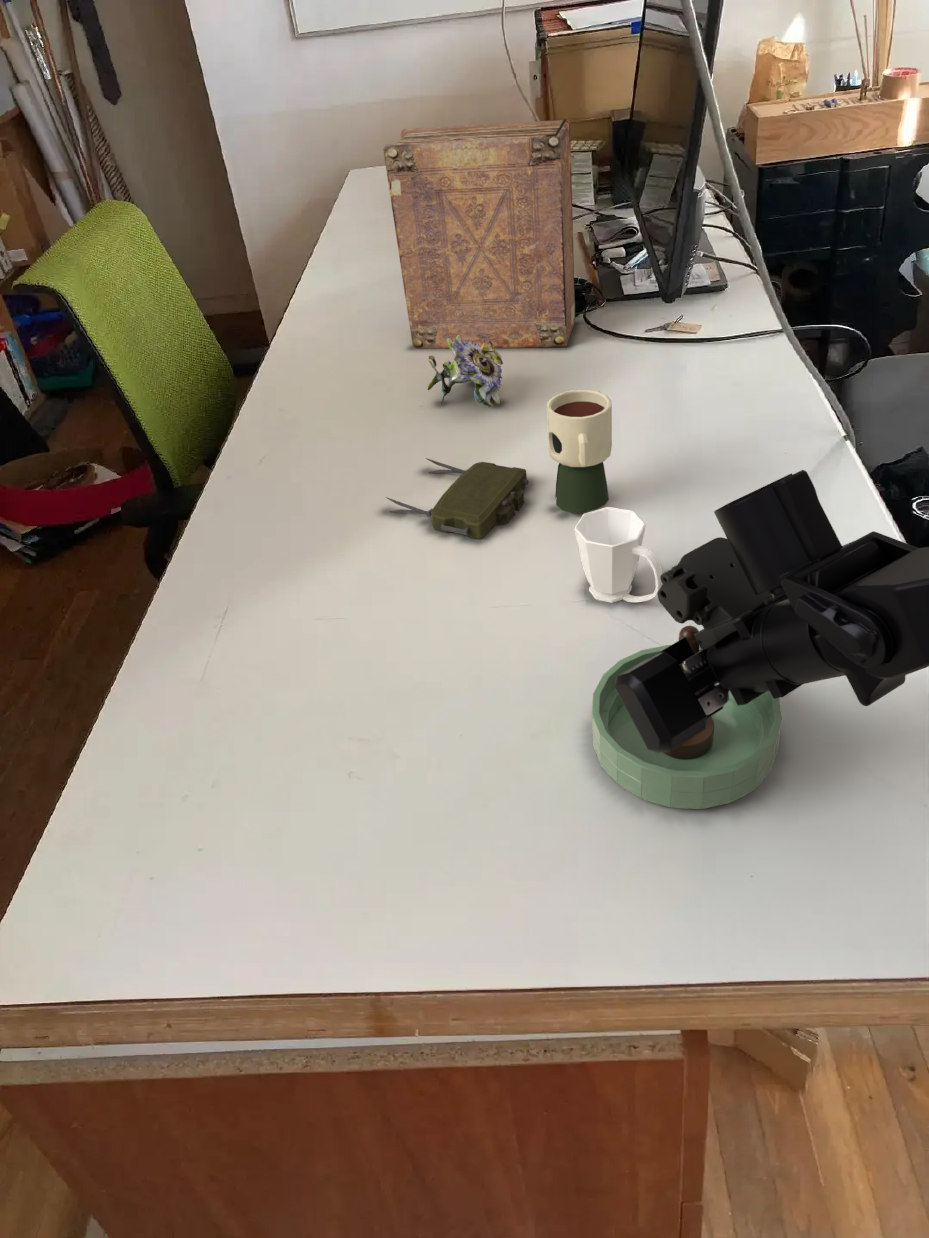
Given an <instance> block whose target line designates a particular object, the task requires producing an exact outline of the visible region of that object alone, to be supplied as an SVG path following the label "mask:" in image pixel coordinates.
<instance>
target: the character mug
mask: <svg viewBox="0 0 929 1238" xmlns="http://www.w3.org/2000/svg"><path fill="white" fill-rule="evenodd" d="M612 403H613V402H612V399H611V398H610V397H609V395H607V394H605V393H603V392H601V391H599V390H595V389H587V388H586V389H585V388H584V389H583V388H582V389H571V390H566V391H563V392H561V393H558V394H556V395H553V397H551V398H550V399H549V400H548V401H547V403H546V422H547V440H548V452H549V456H550V459H552V460H553V461H554V462H556V463H558V465H557V472H556V481H555V495H554V497H555V505H556V507H558V509H560V510H561V511H563V512H567V513H570V514H580V513H588V512H591V511H595V510H598V509H601V508H603V507H605V506H606V505H607V503H608V502H609V500H610V497H609V488H608V482H607V476H606V470H605V464H604V462H606V461H607V459H608V458H609V457H611V454H612V447H613V419H612V418H613V415H612V414H613V413H612V412H613V410H612V409H613V406H612V405H613V404H612Z"/></svg>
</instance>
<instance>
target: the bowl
mask: <svg viewBox="0 0 929 1238" xmlns="http://www.w3.org/2000/svg"><path fill="white" fill-rule="evenodd" d="M671 645H672V644H666V645H662V646H656V647H650V648H646V649H642V650H639V651H637V652H635V653H632V654H630V655H628V656H626V657H624V658H621V659H620V660H618V661H617V662H616V663H615V664H614V665H613V666H611V667H610V668H609V669H608V670H607V671H606V672H604V674H603V675H602V676H601V678H600V680H599V682H598V684H597V685H596V688H594V689H595V690H594V691H593V693H592V706H591V707H592V709H591V717H592V718H591V721H592V723H591V724H592V725H591V727H592V746H593V748H594V752H595V754H596V756H597V757H596V758H597V760H598V762H599V765H600V766H601V768H602V769H603V770H604V771H605V772H606V774H608V776H609V777H610V778H611V779H612V780H613V781H614V782H615V783H616V784H617V785H618V786H620V787H621V788H623V789H625V790H626V791H628V792H629V793H631V794H633V795H634V796H636V797H637V798H639V799H641V800H644V801H647V802H650V803H654V804H657V805H661V806H664V807H667V808H671V809H691V810H705V809H708V808H713V807H718V806H722V805H727V804H731V803H734V802H736V801H737V800H739V799H741V798H743V797H745V796H746V795H749V794H751V793H752V792H754V791H755V790H756V789H757V788H759V786H760V785H761V783H762V782H763V781H765V779H766V778H767V777H768V776H769V774H770V773H772V769H773V766H774V764H775V763H774V762H775V760H776V756H777V753H778V748H779V742H780V735H781V730H782V724H783V723H782V722H783V714H782V710H781V709H782V708H781V704H780V703H781V702H780V698H776V699H774V698H773V697H772V695H771V693H770V691H766V692H765V693H763V694H761V695H760V696H758V697H757V698H755V699H754V700H752V701H751V702H749V703H747V704H745V705H739V706H738V705H737V703H736V701H735V699H734V697H733V695H732V694H731V692H730V691H729V700H728V702H727V703H726V704H725V705H723V709H721V710H720V711H718V712H717V713H715V714H714V715H712V716H711V717H712V719H713V721H714V736H713V744H712V746H711V748H710V749H709V751H708V752H707V753H705V754H704V755H702V756H700V757H698V758H694V759H687V760H684V759H676V758H673V757H670V756H668V755H666V754H664V753H663V752H660V753H657V752H654V751H651V750H648V749H647V747H646V745H645V743H644V741H643V739H642V737H641V735H640V734H639V732H638V730H637V728H636V726H635V724H634V722H633V720H632V718H631V717H630V715H629V713H628V711H627V709H626V707H625V705H624V703H623V701H622V700H621V698H620V696H619V694H618V692H617V690H616V688H615V683H616V678H617V676H618V675H620V674H622V673H623V672H625V671H627V670H628V669H630V668H632V667H634V666H635V665H637V664H639V663H640V662H642V661H644V660H646V659H648V658H650V657H652V656H654V655H657V654H659V653H661V651H662V650H664V649H666V648H667V647H669V646H671ZM700 649H701V648H700V646H699V650H700ZM715 685H719V683H717V684H715Z"/></svg>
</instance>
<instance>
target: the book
mask: <svg viewBox="0 0 929 1238" xmlns="http://www.w3.org/2000/svg"><path fill="white" fill-rule="evenodd" d="M571 140H572V139H571V121H570V120H569V119H565V118H564V119H552V120H550V119H549V120H536V121H535V120H533V121H519V122H501V123H500V122H499V123H485V124H467V125H466V124H465V125H451V126H449V125H448V126H433V127H416V128H404V129H402V130H401V131H400V140H398V142H396V143H393V144H391V143H390V144H385V145H384V146H383V156H384V157H383V158H384V163H385V169H386V177H387V183H388V184H387V185H388V190H389V198H390V204H391V210H392V217H393V223H394V230H395V231H394V232H395V236H396V245H397V250H398V257H399V258H398V259H399V262H400V271H401V277H402V284H403V290H404V297H405V304H406V311H407V317H408V324H409V330H410V337H411V338H410V339H411V344H412V347H413V348H414V349H450V348H449V346H448V344H447V342H446V338H450V339H451V341H452V342H455V343H456V341H455V340H456V337H457V336H458V335H460V339H461V340H462V341H463V342H465V341H466V342H468V343H469V341H471V340H472V342H473V344H477V343H478V344H479V345H480V346H482V344H483V343H485V344H486V345H488V341H491V342H492V345H493V347H494V349H496V348H505V349H506V348H507V349H509V348H566V347H567V345H568V343H569V340H570V337H571V334H572V331H573V329H574V326H575V323H576V300H575V298H576V297H575V296H576V295H575V256H574V224H573V223H574V221H573V220H574V218H573V217H574V216H573V184H572V183H573V180H572V143H571Z"/></svg>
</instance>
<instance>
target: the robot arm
mask: <svg viewBox="0 0 929 1238" xmlns="http://www.w3.org/2000/svg"><path fill="white" fill-rule="evenodd" d="M713 513H714V515H715V517H716V520H717V521H718V523H719V525H720V527H721V529H722V531H723V533H724V535H725V537H726V538H725V537H715V538H713V539H711V540H709V541H707V542H706V543H704V544H702V545H700V546H698V547H696V548H694V549H692V550H690V551H688V552H687V553H685V554H684V555H683V556H682V557H681V559H680V560H679V562H678V563H677V564H676V565H674V566H672V567H671V569H669V570H667V571H665V572H664V573H663V572H662V575H661V576H660V579H661V582H662V583H663V584H662V586H661V587H660V589H659V591H658V594H657V595H656V596H657V599H658V602H659V603H660V604H661V605H662V606H663V608H664V609H665V610H666V612H667V613H668V614H669V615H670V616H671V618H672V619H673V620H674V622H676V623H678V624H685V623H686V622H688V621H691V622H694V623H695V624H696V625H698V626H702V628H703V629H700V630H699V632H697V633H695V634H694V636H695V638H696V640H697V642H698V644H699V646H700V648H701V649H700V650H699V652H698V653H696V654H695V653H694V652H693V650H692V648H691V646H690V644H689V642H688V640H687V638H686V637H684V638H683V639H681V640H679V639H678V640H677V641H676V642H674V643H672V644H670V645H671V646H669V647H667V648H666V649H664V650H662V651H661V653H659V654H657V655H654V656H652V657H650V658H648V659H646V660H644V661H642V662H640V663H639V664H637V665H635V666H634V667H632V668H630V669H628V670H627V671H625V672H623V673H622V674H620V675H618V676H617V678H616V683H615V688H616V690H617V692H618V694H619V696H620V698H621V700H622V701H623V703H624V705H625V707H626V709H627V711H628V713H629V715H630V717H631V718H632V720H633V722H634V724H635V726H636V728H637V730H638V732H639V734H640V735H641V737H642V739H643V741H644V743H645V745H646V747H647V749H648V750H651V751H654V752H657V753H660V752H668V751H672V750H674V749H675V748H677V747H678V746H680V745H681V744H683V743H685V742H686V741H688V740H689V739H691V738H692V737H694V736H695V735H697V734H699V733H700V732H702V731H703V730H705V729H706V722H707V718H709V717H710V716H712V715H714V714H715V713H717V712H718V711H720V710H721V709H723V705H725V704H726V703H727V702H728V700H729V691H730V692H731V694H732V695H733V697H734V699H735V701H736V703H737V705H738V706H739V705H745V704H747V703H749V702H751V701H752V700H754V699H755V698H757V697H758V696H760V695H761V694H763V693H765V692H766V691H770V693H771V695H772V697H773V698H774V699H776V698H779V699H782V698H784V697H786V696H788V695H790V694H791V693H792V692H794V691H795V690H797V689H798V688H800V687H801V686H803V685H805V684H809V683H816V682H819V681H825V680H831V679H835V678H840V677H844V676H845V677H846V678H847V680H848V683H849V685H850V686H851V688H852V690H853V692H854V694H855V697H856V698H857V700H858V703H859V704H861V706H863V707H869V706H870V705H872V704H873V703H876V702H877V701H878V700H880V699H882V698H884V697H885V696H886V695H889V694H890V693H891V692H893V691H894V690H896V689H898V688H899V687H901V686H902V685H904V684H905V682H906V676H907V675H910V674H913V673H915V672H918V671H920V670H923V669H926V668H929V546H924V547H917V546H914V545H911V544H909V543H907V542H904V541H901V540H898V539H896V538H894V537H891V536H889V535H886V534H883V533H880V532H878V531H870V532H868V533H867V534H865V535H863V536H861V537H859V538H857V539H855V540H853V541H851V542H848V543H845V544H842V543H841V541H840V539H839V537H838V536H837V535H838V534H837V533H836V532H835V529H834V528H833V525H832V524H831V522H830V520H829V517H828V516H827V514H826V512H825V510H824V508H823V506H822V504H821V502H820V500H819V496H818V493H817V490H816V487H815V485H814V484H813V481H812V478H810V476H809V473H808V472H807V471H806V470H805V469H801V470H799V471H797V472H795V473H789V474H786V475H784V476H783V477H780V478H779V479H776V480H774V481H772V482H771V483H768V484H765V485H764V486H762V487H760V488H757V489H755V490H753V491H751V492H749V493H747V494H745V495H743V496H740V497H739V498H736V499H734V500H732V501H730V502H728V503H727V504H725V505H722V506H721V507H719V508H717V509H715V510H714V511H713ZM717 683H719V685H715V684H717Z"/></svg>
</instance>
